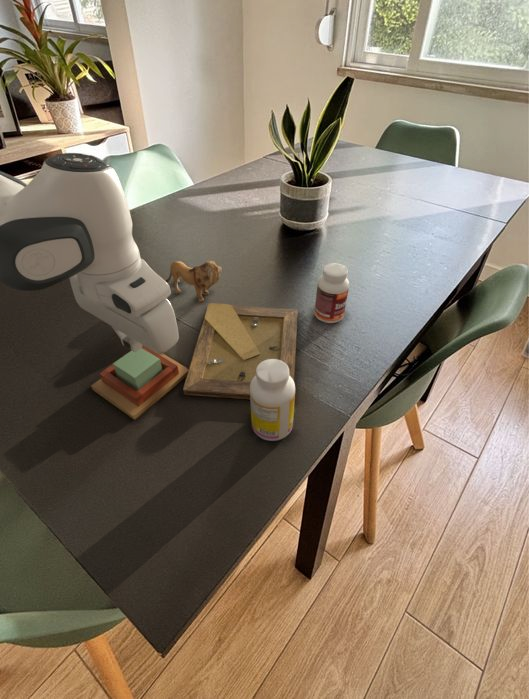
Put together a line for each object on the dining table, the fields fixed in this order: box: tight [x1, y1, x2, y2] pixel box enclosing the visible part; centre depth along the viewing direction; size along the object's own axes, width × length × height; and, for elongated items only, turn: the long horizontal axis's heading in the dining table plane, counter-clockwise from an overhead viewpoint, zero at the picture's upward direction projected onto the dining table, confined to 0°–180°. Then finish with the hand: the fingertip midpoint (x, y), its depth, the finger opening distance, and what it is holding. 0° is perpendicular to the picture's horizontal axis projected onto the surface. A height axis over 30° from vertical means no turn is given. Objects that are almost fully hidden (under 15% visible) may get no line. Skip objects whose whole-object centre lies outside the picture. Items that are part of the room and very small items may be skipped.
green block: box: [112, 348, 162, 391], centre depth 73 cm, size 6×6×4 cm
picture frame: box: [182, 302, 298, 400], centre depth 80 cm, size 19×2×24 cm
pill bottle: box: [314, 262, 350, 324], centre depth 85 cm, size 6×6×11 cm
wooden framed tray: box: [90, 345, 189, 420], centre depth 74 cm, size 13×11×3 cm
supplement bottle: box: [249, 359, 296, 442], centre depth 64 cm, size 7×7×13 cm
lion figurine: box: [165, 260, 222, 303], centre depth 92 cm, size 15×5×9 cm, turn 67°
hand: (132, 346), depth 70 cm, fingers closed
